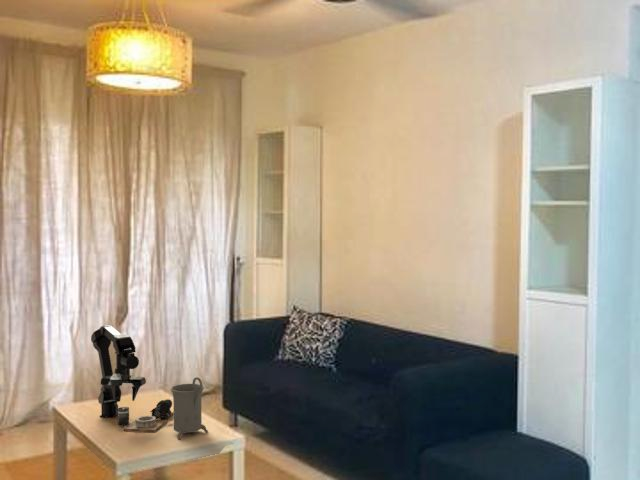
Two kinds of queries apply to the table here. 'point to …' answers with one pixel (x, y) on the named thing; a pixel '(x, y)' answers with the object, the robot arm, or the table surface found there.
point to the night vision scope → (162, 409)
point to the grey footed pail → (187, 407)
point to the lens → (123, 416)
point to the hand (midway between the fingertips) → (123, 400)
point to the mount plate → (145, 429)
